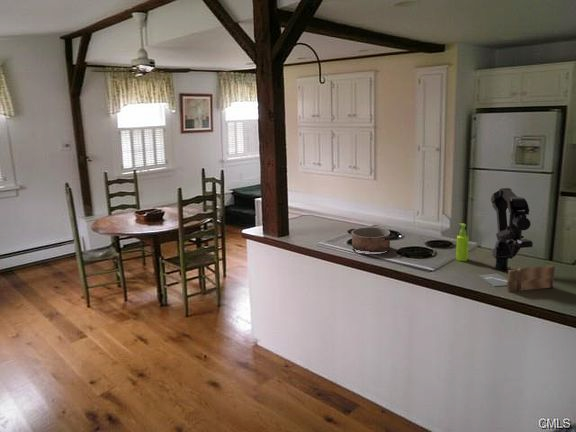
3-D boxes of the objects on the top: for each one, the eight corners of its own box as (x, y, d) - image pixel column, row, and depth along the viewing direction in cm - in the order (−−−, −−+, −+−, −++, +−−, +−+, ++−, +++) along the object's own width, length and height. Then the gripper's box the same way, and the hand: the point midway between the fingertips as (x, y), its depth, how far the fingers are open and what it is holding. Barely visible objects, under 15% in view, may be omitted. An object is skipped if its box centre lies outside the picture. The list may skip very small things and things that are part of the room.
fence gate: (522, 290, 206) (524, 268, 203) (520, 288, 207) (522, 267, 205) (553, 287, 207) (555, 266, 205) (551, 286, 209) (553, 265, 206)
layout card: (478, 275, 225) (478, 275, 225) (497, 274, 226) (497, 273, 226) (494, 286, 212) (494, 285, 211) (514, 285, 213) (514, 284, 212)
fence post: (508, 292, 205) (510, 270, 202) (506, 290, 207) (507, 268, 204) (521, 291, 206) (523, 269, 203) (519, 289, 207) (521, 267, 205)
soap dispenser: (463, 256, 253) (465, 222, 248) (469, 261, 246) (471, 225, 241) (453, 257, 253) (455, 222, 248) (458, 261, 246) (460, 226, 241)
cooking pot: (402, 248, 272) (402, 231, 270) (384, 258, 256) (385, 240, 253) (358, 240, 291) (358, 224, 288) (339, 250, 274) (339, 233, 272)
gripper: (488, 221, 220) (486, 252, 223) (511, 231, 202) (509, 264, 205) (509, 219, 221) (507, 250, 225) (534, 229, 203) (532, 262, 207)
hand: (513, 256), depth 215 cm, fingers closed
